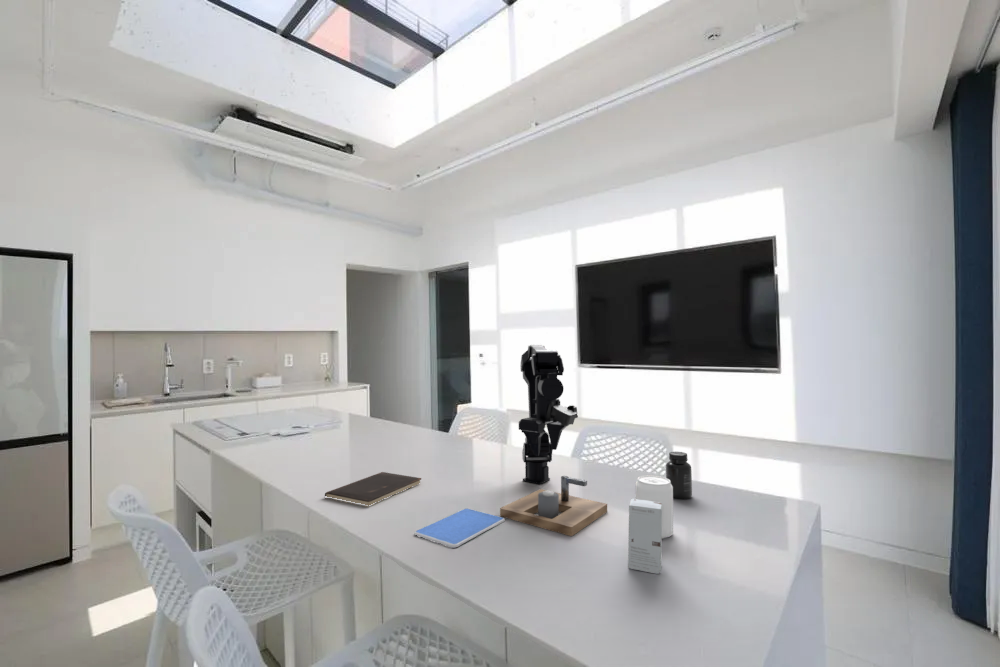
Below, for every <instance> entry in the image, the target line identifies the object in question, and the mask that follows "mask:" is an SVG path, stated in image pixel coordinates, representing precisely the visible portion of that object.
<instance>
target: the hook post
mask: <svg viewBox="0 0 1000 667" xmlns="http://www.w3.org/2000/svg"><path fill="white" fill-rule="evenodd" d="M569 484H571V485H575V486H579V487H580V486H581V487H586V486H588V480H587V479H582V478H576V477H571V476H567V475H562V476H561V477H560V493H561V500H562V501H569V495H570V485H569Z"/></svg>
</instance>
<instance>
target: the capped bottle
mask: <svg viewBox="0 0 1000 667" xmlns="http://www.w3.org/2000/svg"><path fill="white" fill-rule="evenodd" d="M557 493H558V492H556V493H555V491H552V490H547V491H543V492H541V493H539V494H538V512H537V514H538V516H542V517H546V518H550V519H553V518H555V517H556V516H558V515H560V512H559V495H558V494H557Z"/></svg>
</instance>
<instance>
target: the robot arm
mask: <svg viewBox="0 0 1000 667" xmlns="http://www.w3.org/2000/svg"><path fill="white" fill-rule="evenodd" d="M520 372H522V379H523V380H524V382H525V383H526V385H527V396H528V397H527V398H528V417H524V418H521V419H520V420H519V421H518V430H520V431H521V433H523V435H524V437H525V438H524V442H523V443H522V444H523V446H522V451H521V453H522V454H521V456H522V461H523V463H525V477H524V478H522V481H523V482H528V483H532V484H537V485H541V484H543V483H545V482H548V481H550V480H551V478H550V476H549V475H550V474H549V473H550V471H549V469H550V468H549V466H548V463H551V462H552V461H553V458H552V457H553V456H552V455H553V451H555V450H557V449H558V446H559V443H560V438H561V436H562V433H563V430H565V429H567V427H568V426H570V425H574V422H575V419H578V417H579V415H578V407H577V406H576V405H573V404H571V405H569V406H563V405H561V400H560V399H559V398H560V397H561V396H562V395H563V393H564V385H563V382H562V381H561V380H560V379H559V378H558V376H563V374H564V372H565V368H564V363H563V358H562V357H561V354H559V352H558V351H557V350H556V349H555V350H553V349H549V350H548V349H547V348H546V347H545V345H543V344H530V345H527V350H526V351H525V352H524V353H523V354H522V355H521V358H520ZM546 427H547V428H546ZM545 428H546V429H547V431H546V429H545Z"/></svg>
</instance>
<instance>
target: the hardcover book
mask: <svg viewBox="0 0 1000 667" xmlns="http://www.w3.org/2000/svg"><path fill="white" fill-rule="evenodd" d="M421 480H422V477H415V476H411V475H410V476H409V475H402V474H398V473H391V472H387V471H382V472H378V473H376V474H372V475H369V476H368V477H364V478H362V479H359V480H355V481H353V482H350V483H348V484H345V485H343V486H340V487H337V488H334V489H332V490H329V491H327V492H325V493H324V497H325V496H327V497H332V498H337V499H342V500H346V501H351V502H355V503H361V504H365V505H368V506H369V505H371V504H373V503H375V502H378V501H380V500H382V499H384V498H387V497H389V496H391V495H394V494H396V493H398V492H401V491H403V490H405V489H407V488H410V487H412V486H414V487H416V486H415V485H417V484H419V483H420V484H421ZM420 484H419V485H420ZM417 486H418V485H417ZM412 488H413V487H412ZM410 489H411V488H410ZM405 491H406V490H405ZM403 492H404V491H403ZM401 493H402V492H401ZM396 495H397V494H396ZM394 496H395V495H394ZM387 499H388V498H387ZM378 503H379V502H378Z"/></svg>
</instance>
